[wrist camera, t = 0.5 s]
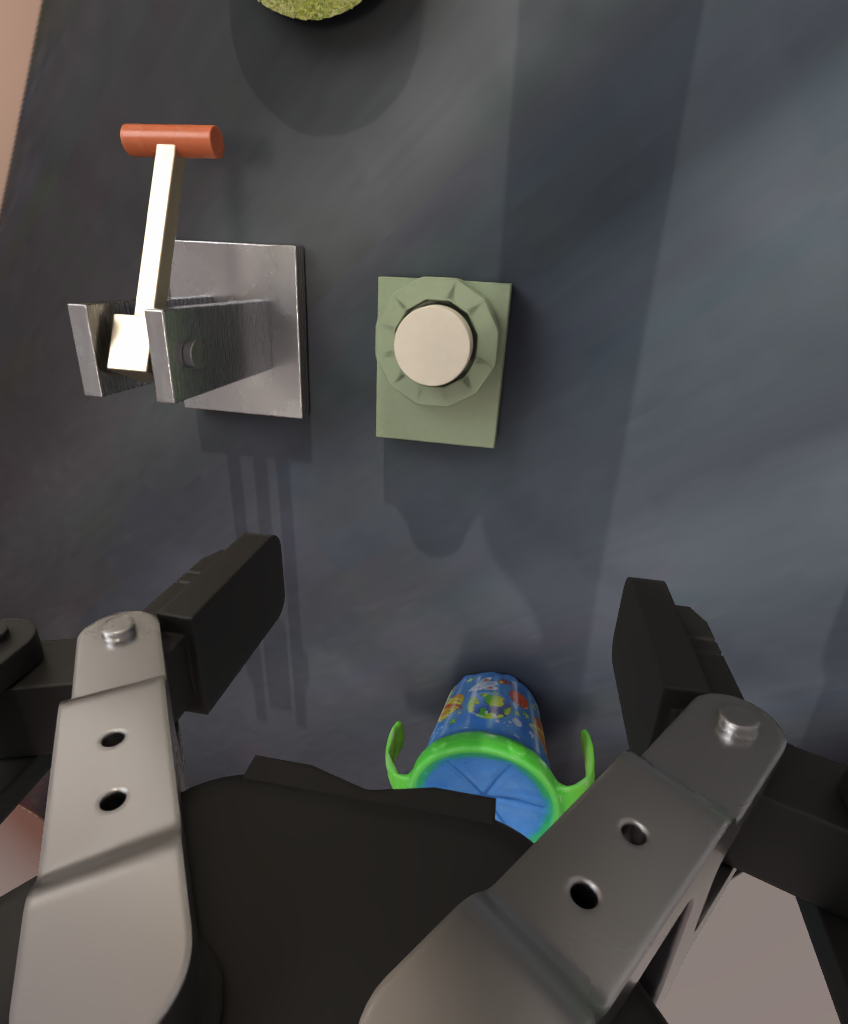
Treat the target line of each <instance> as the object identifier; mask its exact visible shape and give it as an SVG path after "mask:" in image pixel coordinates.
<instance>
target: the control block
mask: <svg viewBox="0 0 848 1024" xmlns="http://www.w3.org/2000/svg"><path fill="white" fill-rule="evenodd" d="M511 293H512V283H494V282H477V281H463V280H462V279H459V278H445V277H421V278H405V277H378V320H377V323H376V345H375V356H376V359H377V402H376V437H384V438H394V439H404V440H414V441H424V442H434V443H444V444H455V445H465V446H475V447H485V448H494V447H495V442H496V436H497V427H498V417H499V408H500V398H501V389H502V379H503V370H504V360H505V350H506V341H507V331H508V322H509V312H510V303H511ZM428 305H444V306H448V307H450V308H452V309H454V310H456V311H457V312H458V313H460V314H461V315H462V316H463V317H464V319H465V320H466V321H467V323H468V325H469V327H470V329H471V332H472V336H473V350H472V355H471V358H470V360H469V362H468V364H467V365H466V367H465V368H464V370H463V371H462V372H461V373H460V374H459V375H458V376H457V377H456V378H455V379H454V380H452V381H450V382H449V383H446V384H444V385H440V386H426V385H422V384H419V383H417V382H415V381H413V380H411V379H410V378H409V377H408V376H407V375H406V374H405V373H404V372H403V371H402V369H401V368H400V366H399V364H398V362H397V360H396V356H395V352H394V339H395V334H396V332H397V329H398V327H399V325H400V323H401V322H402V320H403V319H404V318H405V317H406V316H407V315H408V314H410V313H411V312H413V311H414V310H416V309H418V308H421V307H425V306H428Z"/></svg>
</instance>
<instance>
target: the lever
mask: <svg viewBox="0 0 848 1024" xmlns="http://www.w3.org/2000/svg"><path fill="white" fill-rule="evenodd" d="M120 136H121V141H122V145H123V147H124V149H125V151H126V152H127V153H128V154H129V155H130V156H132V157H155V161H154V169H153V177H152V184H151V192H150V199H149V207H148V214H147V222H146V229H145V237H144V244H143V252H142V260H141V267H140V275H139V282H138V290H137V297H136V305H135V312H134V315H126V314H114V319H113V326H112V334H111V341H110V349H109V356H108V364H107V369H109V370H112V371H114V372H116V373H119V374H121V375H124V376H126V377H128V378H131V379H133V380H136V381H138V382H149V383H155V382H154V375H153V368H152V361H151V354H150V347H149V340H148V333H147V326H146V319H145V313H144V310H145V309H149V308H161V307H167V299H168V292H169V284H170V277H171V269H172V261H173V254H174V246H175V239H176V231H177V223H178V216H179V208H180V200H181V193H182V185H183V178H184V170H185V162H186V158H201V159H221V158H222V157H223V154H224V141H223V137H222V134H221V132H220V130H219V128H218V127H217V126H215V125H168V124H124V125H123V126H122V127H121V132H120Z"/></svg>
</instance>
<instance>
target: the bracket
mask: <svg viewBox="0 0 848 1024" xmlns="http://www.w3.org/2000/svg"><path fill="white" fill-rule="evenodd" d="M169 285H170V293H171V297H169V298H168V299H167V307H161V308H149V309H145V310H144V313H145V319H146V326H147V333H148V340H149V347H150V354H151V361H152V368H153V375H154V382H155V389H156V396H157V401H158V402H161V403H172V404H175V403H178V402H181V401H184V406H185V408H193V409H203V410H213V411H224V412H234V413H245V414H255V415H265V416H276V417H286V418H297V419H303V418H305V417H306V416H308V415H309V390H308V361H307V331H306V302H305V272H304V248H303V247H302V246H295V245H275V244H255V243H235V242H214V241H194V240H175V246H174V254H173V261H172V269H171V277H170V284H169ZM135 305H136V299H135V300H119V301H102V302H85V303H69V304H68V310H69V315H70V320H71V325H72V330H73V335H74V340H75V346H76V351H77V356H78V361H79V366H80V371H81V376H82V381H83V387H84V392H85V395H86V396H96V397H104V396H108V395H111V394H115V393H118V392H122V391H126V390H129V389H133V388H136V387H140V386H143V385H147V384H150V383H149V382H138V381H136V380H133V379H131V378H128V377H126V376H124V375H121V374H119V373H116V372H114V371H112V370H109V369H107V364H108V356H109V349H110V341H111V334H112V326H113V319H114V314H126V315H134V312H135Z"/></svg>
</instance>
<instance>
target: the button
mask: <svg viewBox="0 0 848 1024" xmlns="http://www.w3.org/2000/svg"><path fill="white" fill-rule="evenodd" d="M472 350H473V336H472V332H471V329H470V327H469V325H468V323H467V321H466V320H465V319H464V317H463V316H462V315H461V314H460V313H458V312H457V311H456V310H454V309H452V308H450V307H448V306H444V305H428V306H425V307H421V308H418V309H416V310H414V311H413V312H411V313H410V314H408V315H407V316H406V317H405V318H404V319H403V320H402V322H401V323H400V325H399V327H398V329H397V332H396V334H395V339H394V352H395V356H396V360H397V362H398V364H399V366H400V368H401V369H402V371H403V372H404V373H405V374H406V375H407V376H408V377H409V378H410V379H411V380H413V381H415V382H417V383H419V384H422V385H426V386H440V385H444V384H446V383H449V382H450V381H452V380H454V379H455V378H456V377H457V376H458V375H459V374H460V373H461V372H462V371H463V370H464V368H465V367H466V365H467V364H468V362H469V360H470V358H471V355H472Z"/></svg>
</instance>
